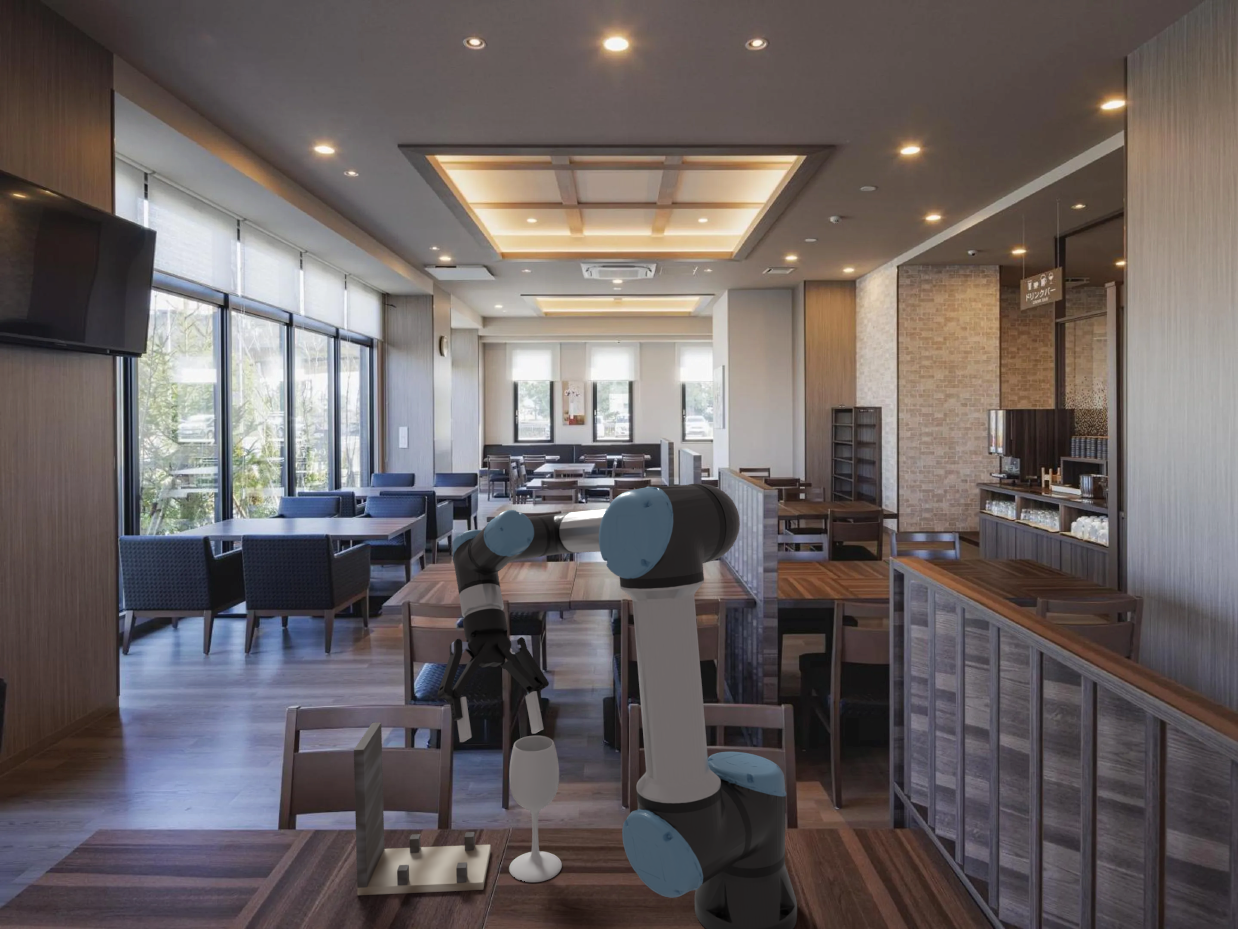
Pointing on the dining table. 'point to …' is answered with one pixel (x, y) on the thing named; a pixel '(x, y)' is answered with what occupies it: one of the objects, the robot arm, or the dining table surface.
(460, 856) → the pegged display stand
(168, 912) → the dining table surface
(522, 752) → the wineglass
